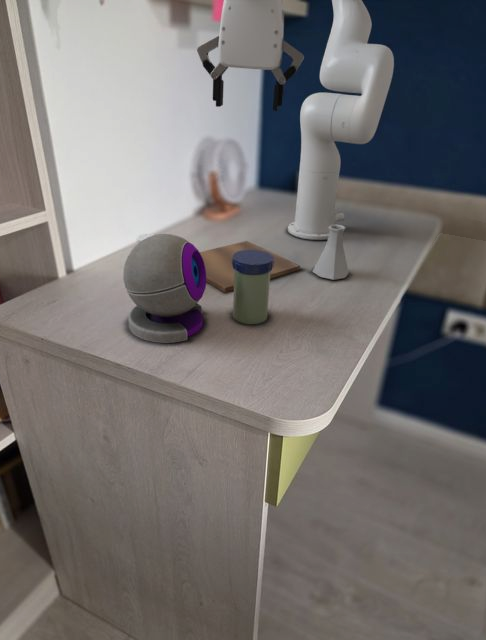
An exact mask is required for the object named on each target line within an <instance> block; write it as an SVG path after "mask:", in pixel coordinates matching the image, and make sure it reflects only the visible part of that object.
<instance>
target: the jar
mask: <svg viewBox="0 0 486 640" xmlns="http://www.w3.org/2000/svg"><path fill="white" fill-rule="evenodd" d="M270 272H271V271H270ZM270 272H268V273H264V274H253V275H252V274H244V273H241V272H238V271H236V270H235V269H234V290H233V300H232V303H233V304H232V317H233V319H234V320H235V321H236V322H238V323H241V324H245V325H259V324H262V323H264V322H266V320H267V319H268V313H269V312H268V311H269V299H270V285H271V279H270Z"/></svg>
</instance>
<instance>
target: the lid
mask: <svg viewBox="0 0 486 640" xmlns="http://www.w3.org/2000/svg"><path fill="white" fill-rule="evenodd" d="M273 265H274V261H273V256H272V255H271V254H270V253H267V252H265V251H260V250H242V251H238V252H236V253H234V254H233V259H232V266H233V268H234V269H235V270H236V271H238V272H241V273H244V274H252V275H253V274H264V273H268V272H270V271H271V270H272V269H273Z"/></svg>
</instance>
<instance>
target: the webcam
mask: <svg viewBox="0 0 486 640" xmlns="http://www.w3.org/2000/svg"><path fill="white" fill-rule="evenodd" d="M200 252H201V251H199V250H198V249H197V247H196V245H194V244H193V243H191V242H190V241H189V240H187V239H185V238H183V237H181V236H179V235H176V234H170V233H158V234H153V236H150V237H148V238H146V239H144V240H142V241H141V242H139V243H138V244H137V243H136V245H135V246H134V247H133V248H132V249H131V250H130V251H129V254H128V255H127V257H126V259H125V262H124V266H123V275H122V276H123V283H124V288H125V290H126V293H127V295H128V296H129V298H130V299H131V300H132V302H133V303H134V304H135V306H134V307H132V309H131V310H130V311H129V314H128V317H127V318H128V319H127V321H128V322H127V323H128V328H129V331H130V332H131V333H132V334H133V335H135V337H138V338H140V339H141V340H144V341H149V342H153V343H162V344H168V343H169V344H170V343H179V342H184V341H188V337H190V336H193V335H194V334H196V333H197V332H199V331H200V329H201V328H202V327H203V324H204V323H203V307H202V305H201V304H200V303H199V302H200V300H201V299H202V297H203V295H204V294H205V292H206V291H205V290H206V287H207V282H206V269H205V264H204V261H203V258H202V256H201V254H200Z"/></svg>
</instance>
